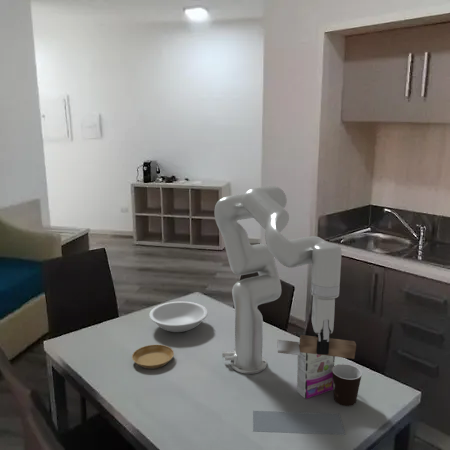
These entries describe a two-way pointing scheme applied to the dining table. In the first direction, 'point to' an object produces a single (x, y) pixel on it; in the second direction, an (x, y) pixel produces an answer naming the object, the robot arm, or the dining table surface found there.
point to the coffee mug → (346, 383)
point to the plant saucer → (153, 356)
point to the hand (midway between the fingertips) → (321, 350)
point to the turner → (310, 346)
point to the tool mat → (297, 422)
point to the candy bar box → (314, 374)
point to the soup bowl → (178, 315)
